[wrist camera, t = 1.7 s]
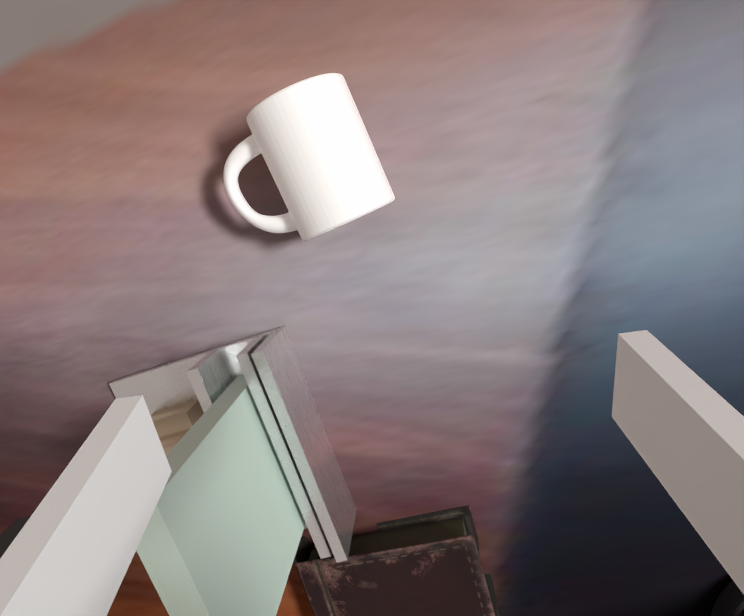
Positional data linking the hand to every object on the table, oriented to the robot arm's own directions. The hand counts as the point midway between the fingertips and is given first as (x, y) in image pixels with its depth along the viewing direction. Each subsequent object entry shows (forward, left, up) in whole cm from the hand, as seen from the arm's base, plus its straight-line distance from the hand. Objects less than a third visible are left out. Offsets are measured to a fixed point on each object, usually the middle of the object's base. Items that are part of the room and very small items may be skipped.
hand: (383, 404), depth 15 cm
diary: (-38, +11, -32) cm, 51 cm away
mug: (+9, +6, -32) cm, 34 cm away
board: (-13, +17, -30) cm, 37 cm away
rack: (-13, +22, -31) cm, 40 cm away
